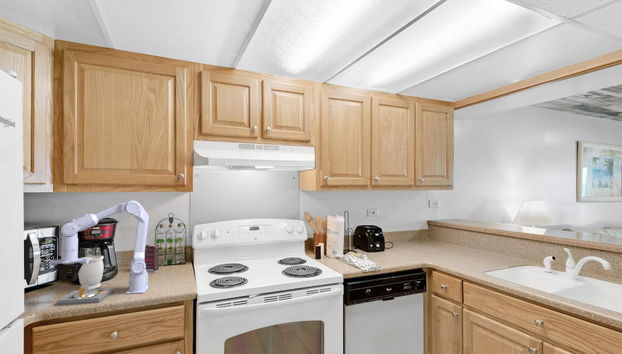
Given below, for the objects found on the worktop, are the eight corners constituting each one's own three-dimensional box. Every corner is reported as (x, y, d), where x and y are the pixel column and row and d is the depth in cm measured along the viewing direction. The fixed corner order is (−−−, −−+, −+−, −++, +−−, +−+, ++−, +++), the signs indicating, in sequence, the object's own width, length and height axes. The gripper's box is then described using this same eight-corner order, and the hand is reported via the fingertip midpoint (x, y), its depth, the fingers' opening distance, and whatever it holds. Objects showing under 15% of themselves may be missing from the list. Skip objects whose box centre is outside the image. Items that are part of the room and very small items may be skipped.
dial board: (74, 294, 140) (74, 289, 140) (112, 292, 143) (112, 287, 144) (57, 305, 128) (57, 299, 128) (98, 302, 131) (98, 297, 131)
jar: (104, 287, 150) (105, 257, 150) (78, 292, 143) (79, 261, 144) (101, 282, 158) (102, 254, 158) (76, 287, 151) (77, 257, 152)
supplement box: (158, 270, 180) (159, 244, 181) (154, 273, 175) (154, 246, 176) (145, 270, 181) (145, 244, 181) (140, 272, 176) (140, 245, 176)
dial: (80, 293, 139) (81, 282, 139) (102, 292, 141) (102, 280, 141) (69, 300, 130) (69, 288, 130) (92, 299, 132) (92, 287, 132)
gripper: (44, 252, 127) (43, 284, 126) (83, 250, 130) (82, 282, 129) (55, 248, 134) (54, 279, 133) (91, 247, 137) (91, 277, 136)
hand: (69, 280), depth 132 cm, fingers open, 3 cm apart
